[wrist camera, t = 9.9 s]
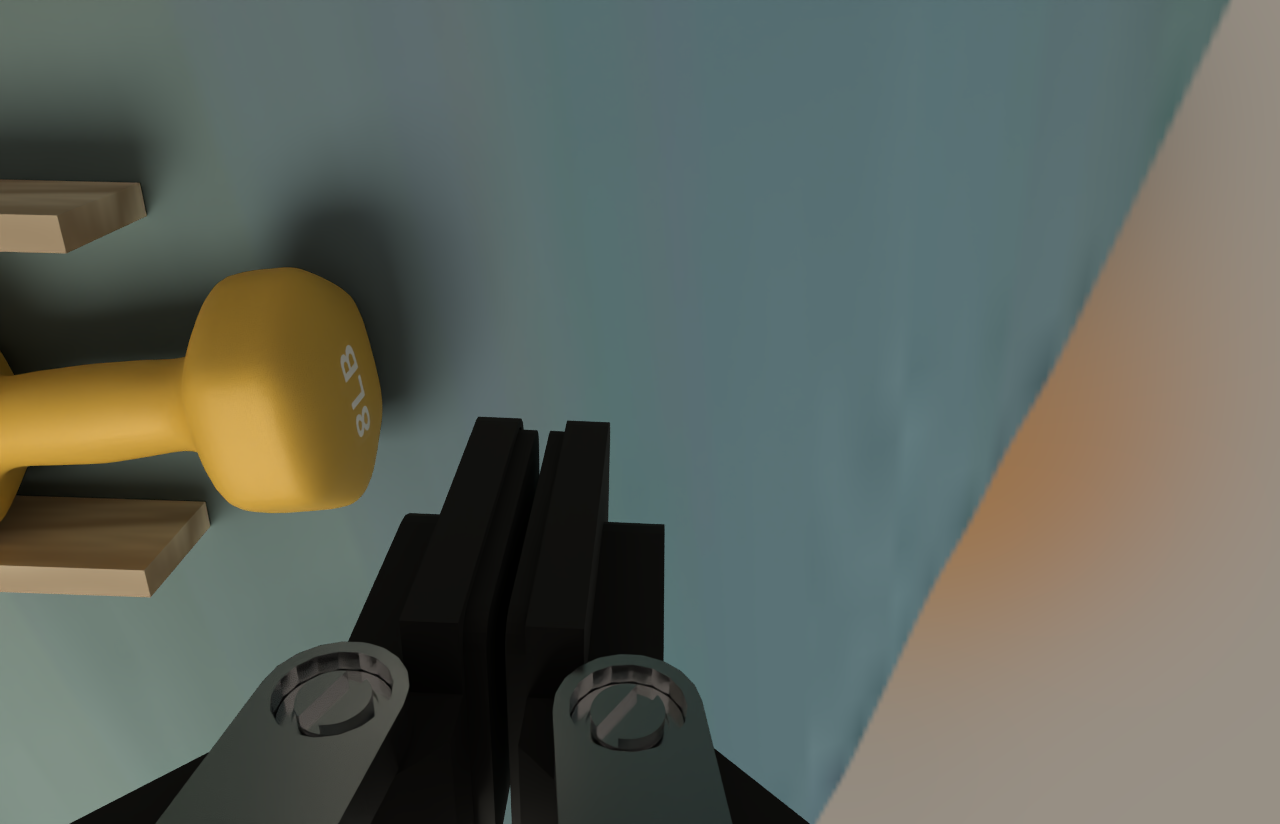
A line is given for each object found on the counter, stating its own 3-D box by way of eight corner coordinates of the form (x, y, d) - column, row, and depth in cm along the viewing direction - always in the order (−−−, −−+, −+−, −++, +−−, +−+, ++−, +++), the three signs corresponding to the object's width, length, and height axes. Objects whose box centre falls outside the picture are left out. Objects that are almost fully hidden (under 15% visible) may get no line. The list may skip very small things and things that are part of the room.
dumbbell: (-24, 487, 40) (-185, 605, 33) (-119, 281, 36) (-325, 362, 29) (414, 451, 38) (351, 566, 31) (362, 232, 35) (276, 304, 27)
